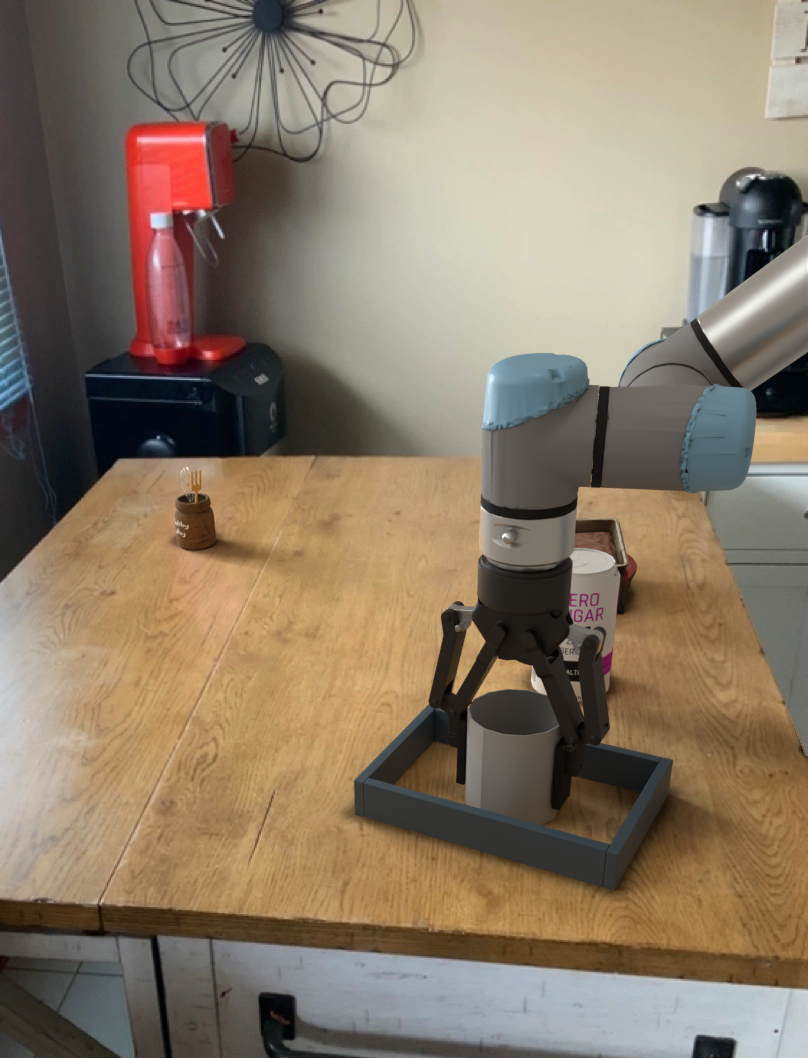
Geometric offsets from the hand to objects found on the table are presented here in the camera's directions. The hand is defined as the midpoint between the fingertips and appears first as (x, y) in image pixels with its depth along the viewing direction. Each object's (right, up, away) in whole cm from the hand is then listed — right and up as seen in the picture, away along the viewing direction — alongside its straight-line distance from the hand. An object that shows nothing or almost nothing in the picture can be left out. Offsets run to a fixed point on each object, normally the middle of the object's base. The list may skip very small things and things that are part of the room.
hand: (512, 788), depth 103 cm
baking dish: (+17, +22, +42) cm, 51 cm away
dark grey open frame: (0, -2, +1) cm, 2 cm away
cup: (0, -2, +1) cm, 2 cm away
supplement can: (+11, +9, +20) cm, 25 cm away
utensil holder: (-33, +32, +66) cm, 80 cm away
